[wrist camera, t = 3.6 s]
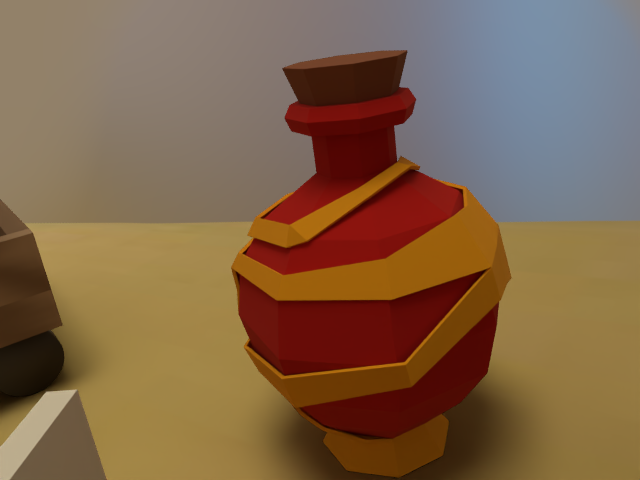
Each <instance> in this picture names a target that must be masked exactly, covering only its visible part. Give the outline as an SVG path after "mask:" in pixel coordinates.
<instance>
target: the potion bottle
mask: <svg viewBox="0 0 640 480" xmlns="http://www.w3.org/2000/svg"><path fill="white" fill-rule="evenodd" d="M406 55H407V50H403V51H402V50H401V51H375V52H366V53H358V54H349V55H340V56H333V57H328V58H322V59H316V60H310V61H305V62H300V63H296V64H293V65H290V66H287V67H284V68H283V71H284V73H285V75H286V77H287V79H288V81H289V83H290V85H291V87H292V89H293V91H294V93H295V95H296V97H297V99H298V101H297V102H295V103H293V104H291V105H290V106H289V108H288V110H287V113H286V115H285V120H286V122H287V124H288V126H289V128H290V129H291V131H292V132H296V133H300V134H304V135H308V136H311V137H312V142H313V150H314V157H315V164H316V172H317V173H316V174H315V175H314V176H312V177H311V178H310V179H309V180H308V181H307V182H305V183H304V184H303V185H302V186H301V187H300V188H298V190H296V191H295V192H292V193H289V194H287V195H285V196H284V197H283V198H281V199H280V200H278V201H277V202H276V203H274V204H273V205H272V206H270V207H269V208H267V209H266V210H265V211H264V212H262V213H261V214H259V215H258V216H257V217H256V218H255V220H254V222H253V224H252V226H251V228H250V231H249V233H248V236H251V237H253V238H252V239H251V240H250V241H249V243H248V244H247V245H246V246H245V247H244V248H243V249H242V250H241V251H240V252H239V253H238V255H237V257H236V259H235V261H234V263H233V265H232V267H231V269H232V273H233V276H234V280H235V284H236V288H237V296H238V312H239V316H240V318H241V321H242V323H243V325H244V327H245V330H246V332H247V334H248V336H249V339H248V341H247V342H246V344H245V345H244V348H245V350H246V351H247V353H248V355H249V356H250V358H251V359H252V361H253V363H254V364H255V366H256V367H257V369H258V370H259V372H260V373H261V374H262V375H263V376H264V377H265V378H266V379H267V380H268V381H269V382H270V383H271V384H272V385H273V386H274V387H275V388H276V389H277V390H278V391H279V392H280V393H281V394H282V395H283V396H284V397H285V398H286V399H287V400H288V401H289V402H290V403H291V404H292V406H293V407H294V408H295V409H296V410H297V412H298V413H299V414H300V415H301V416H302V417H304V418H305V419H306V420H308V421H309V422H311V423H312V424H314V425H315V426H317V427H318V428H320V429H321V430H322V431H325V432H327V433H326V435H325V438H324V440H323V442H324V444H325V445H326V446H327V447H328V449H329V450H330V451H331V452H332V453H333V455H334V456H335V457H336V458H337V460H338V461H339V462H340V463H341V464H342V466H343V467H344V468H345V469H346V471H352V472H360V473H368V474H375V475H383V476H390V477H398V478H399V477H401V476H403V475H405V474H407V473H409V472H411V471H413V470H415V469H417V468H419V467H421V466H423V465H425V464H427V463H429V462H431V461H433V460H435V459H437V458H439V457H441V456H443V453H444V448H445V442H446V437H447V432H448V426H449V421H448V420H447V419H446V418H445V417H444V416H443V415H442V413H444V412H445V411H447V410H449V409H450V408H452V407H454V406H456V405H457V404H459V403H461V402H462V400H463V399H464V398H465V397H466V396H467V395H468V394H469V393H470V392H471V390H472V389H473V388H474V387H475V386H476V385H477V384H478V383H479V382H480V380H481V379H482V378H483V377H484V376H485V375H486V374H487V372H488V367H489V362H490V357H491V352H492V347H493V342H494V337H495V332H496V326H497V317H498V307H499V301H500V300H501V298H502V295H503V293H504V290H505V287H506V285H507V283H508V282H509V280H510V279H511V274H510V270H509V266H508V262H507V258H506V254H505V250H504V246H503V242H502V238H501V234H500V230H499V226H498V224H497V223H496V222H495V221H494V220H493V218H492V217H491V216H490V215H489V214H488V212H487V211H486V210H485V209H484V208H483V207H482V205H481V204H480V203H479V202H478V201H477V199H476V198H475V197H474V196H473V195H472V193H471V192H470V191H469V190H468V189H467V188H466V187H465V186H460V185H456V184H452V183H449V182H444V181H440V180H436V179H433V178H431V177H429V176H427V175H425V174H423V173H420V172H418V171H416V170H419V168H420V166H418V165H416V164H415V163H413V162H411V161H409V160H407V159H405V158H404V157H402V156H401V157H400V158H399V160H398V161H397V155H396V143H395V132H394V125H399V124H403V123H404V122H405V121H406V120H407V119H408V118H409V117H410V116H411V115H412V112H413V109H414V105H415V101H416V98H415V97H414V95H413V94H412V93H411V91H410V90H409V88H401V87H399V84H400V80H401V76H402V72H403V68H404V63H405V59H406ZM302 408H303V409H302Z"/></svg>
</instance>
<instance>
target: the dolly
mask: <svg viewBox="0 0 640 480" xmlns="http://www.w3.org/2000/svg"><path fill="white" fill-rule="evenodd" d="M59 326H62V322H61V318H60V315H59V312H58V309H57V306H56V303H55V300H54V297H53V294H52V291H51V287H50V284H49V281H48V278H47V275H46V272H45V269H44V266H43V263H42V260H41V256H40V253H39V250H38V247H37V244H36V241H35V238H34V235H33V232H32V231H31V230H30V229H29V228H28V227H27V226H26V225H25V224H24V223H23V222H22V221H21V220H20V219H19V218H18V217H17V216H16V215H15V214H14V213H13V212H12V211H11V210H10V209H9V208H8V207H7V206H6V205H5V204H4V203H3V202H2V201H1V200H0V391H1V392H3V393H5V394H8V395H13V396H26V395H31V394H34V393H37V392H39V391H41V390H43V389H45V388H46V387H48V386H49V385H50V384H51V383H52V382H53V381H54V380H55V379H56V378H57V377H58V375H59V374H60V372H61V370H62V367H63V363H64V351H63V348H62V346H61V344H60V342H59V341H58V339H57V338H56V336H55V335H54V333H53V332H52V331H51V329H54V328H56V327H59Z"/></svg>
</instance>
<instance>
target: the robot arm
mask: <svg viewBox="0 0 640 480" xmlns="http://www.w3.org/2000/svg"><path fill="white" fill-rule="evenodd" d="M0 480H107V479H106V476H105V473H104V470H103V467H102V464H101V461H100V458H99V455H98V451H97V448H96V445H95V442H94V439H93V436H92V433H91V430H90V427H89V424H88V421H87V418H86V415H85V412H84V409H83V405H82V402H81V399H80V396H79V393H78V390H65V391H51V392H46V393H45V394H44V395H43V396H42V398H41V399H40V400H39V401H38V402H37V404H36V405H35V406H34V407H33V408H32V410H31V411H30V412H29V413H28V414H27V416H26V417H25V418H24V419H23V421H22V422H21V423H20V424H19V425H18V427H17V428H16V429H15V430H14V431H13V433H12V434H11V435H10V436H9V437H8V439H7V440H6V441H5V442H4V443H3V445H2V446H1V447H0Z"/></svg>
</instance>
